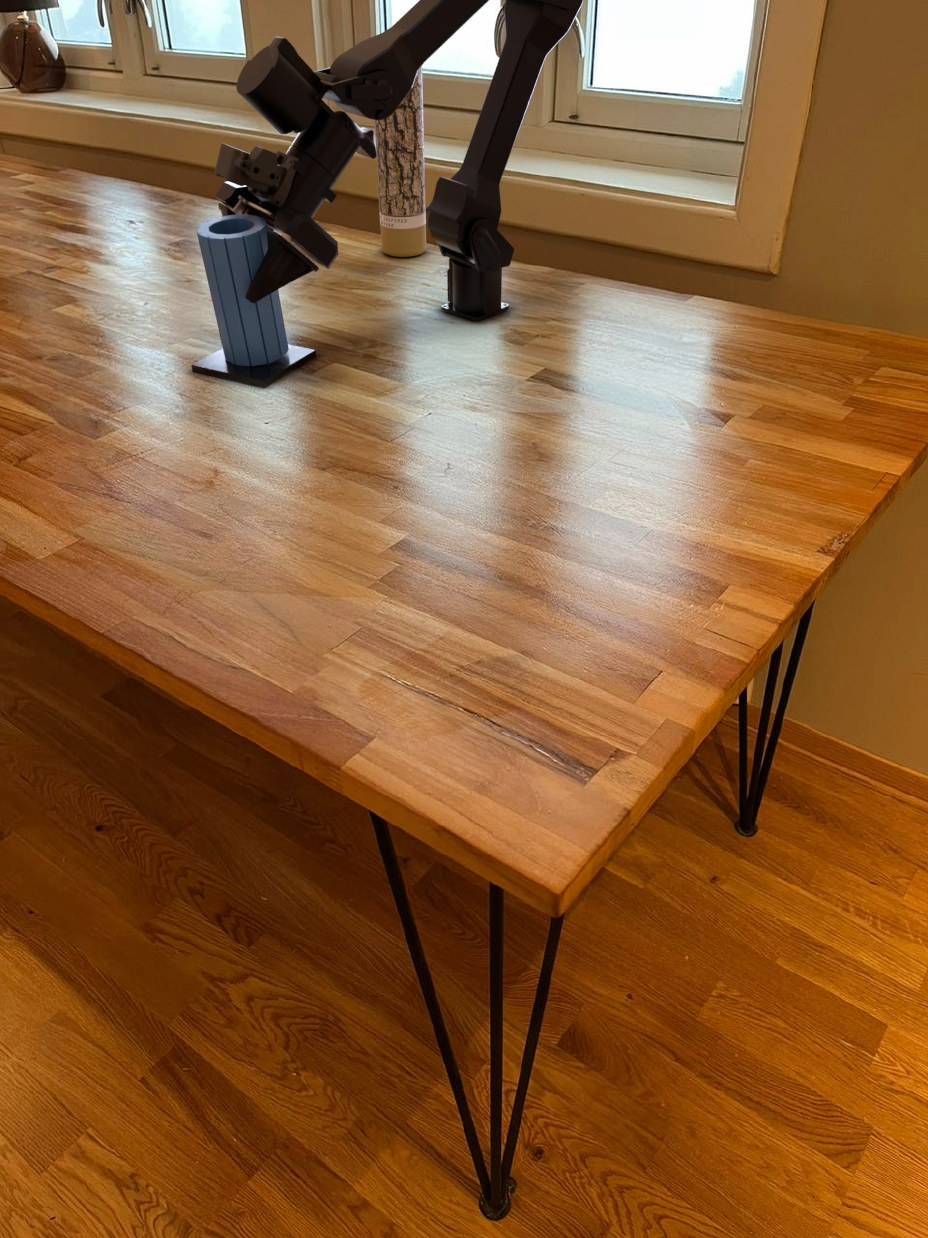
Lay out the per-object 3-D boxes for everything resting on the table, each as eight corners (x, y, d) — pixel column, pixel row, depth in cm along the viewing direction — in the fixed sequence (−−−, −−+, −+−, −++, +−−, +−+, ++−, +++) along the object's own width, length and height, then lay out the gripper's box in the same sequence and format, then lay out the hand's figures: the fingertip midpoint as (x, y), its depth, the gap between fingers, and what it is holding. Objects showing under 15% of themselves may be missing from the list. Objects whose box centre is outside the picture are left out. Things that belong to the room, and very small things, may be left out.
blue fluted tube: (284, 333, 110) (262, 210, 100) (291, 360, 104) (269, 233, 95) (222, 342, 109) (195, 219, 99) (227, 370, 103) (198, 242, 94)
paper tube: (420, 259, 137) (414, 64, 122) (376, 256, 139) (365, 62, 123) (431, 246, 143) (426, 57, 128) (388, 243, 144) (379, 56, 129)
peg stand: (316, 356, 108) (312, 313, 105) (264, 388, 101) (258, 343, 98) (247, 342, 112) (241, 300, 109) (192, 371, 105) (184, 327, 102)
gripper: (218, 97, 99) (139, 223, 101) (298, 124, 87) (206, 266, 88) (294, 168, 107) (219, 283, 109) (376, 202, 95) (291, 330, 97)
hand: (231, 289), depth 100 cm, fingers open, 8 cm apart
